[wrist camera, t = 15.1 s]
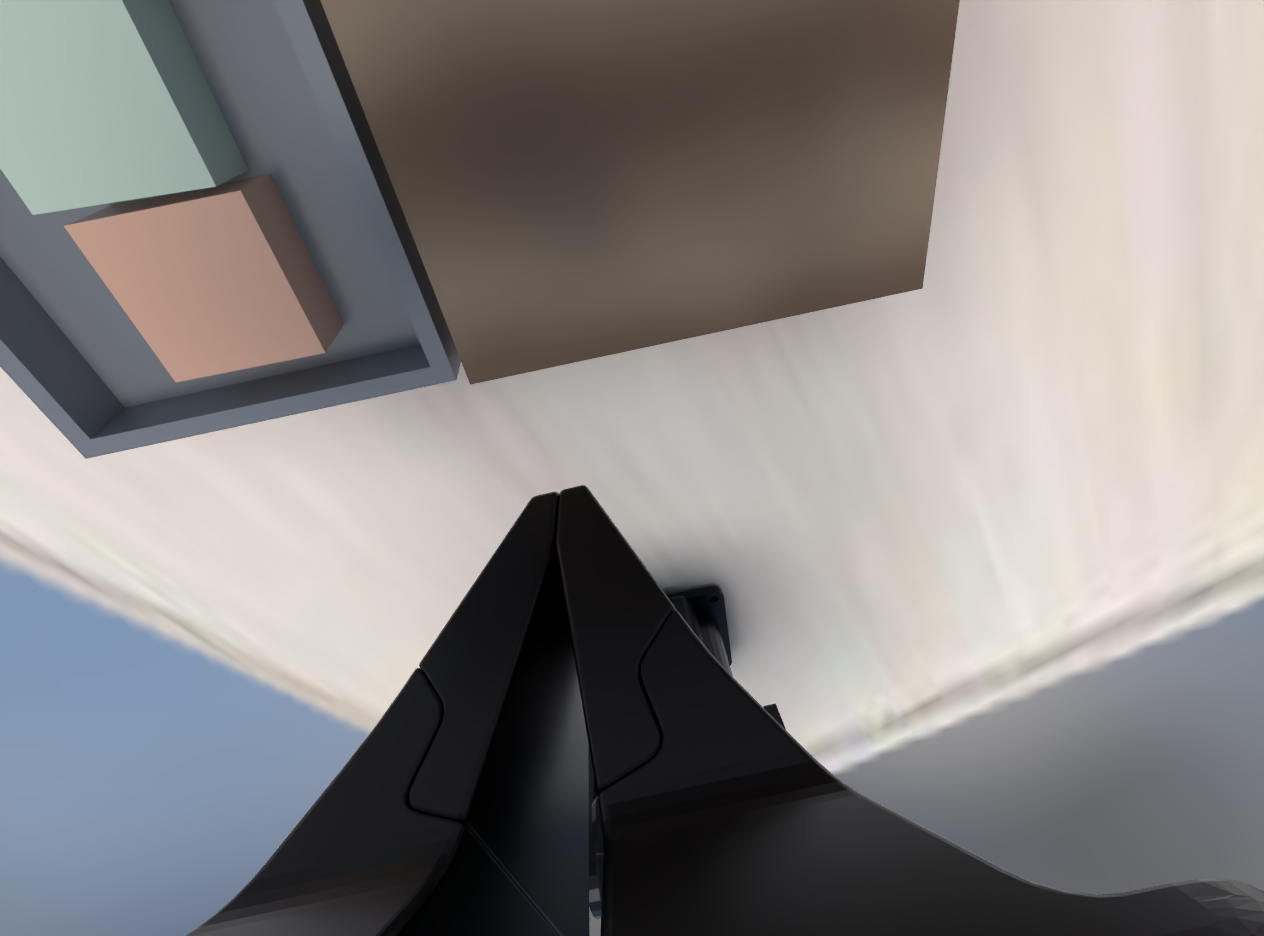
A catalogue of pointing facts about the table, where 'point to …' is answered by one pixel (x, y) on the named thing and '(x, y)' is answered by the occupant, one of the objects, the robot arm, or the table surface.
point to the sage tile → (105, 105)
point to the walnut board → (651, 160)
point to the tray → (322, 212)
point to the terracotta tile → (212, 277)
